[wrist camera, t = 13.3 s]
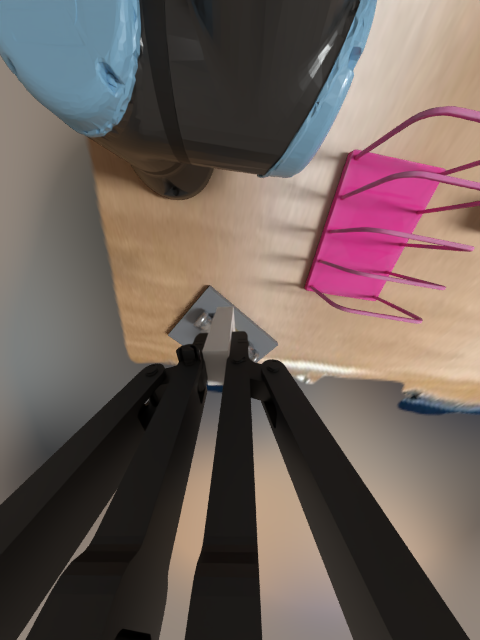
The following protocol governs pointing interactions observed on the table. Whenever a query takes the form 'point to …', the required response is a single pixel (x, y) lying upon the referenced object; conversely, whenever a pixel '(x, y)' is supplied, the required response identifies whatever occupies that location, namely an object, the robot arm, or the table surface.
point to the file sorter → (381, 221)
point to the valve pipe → (205, 324)
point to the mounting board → (210, 302)
